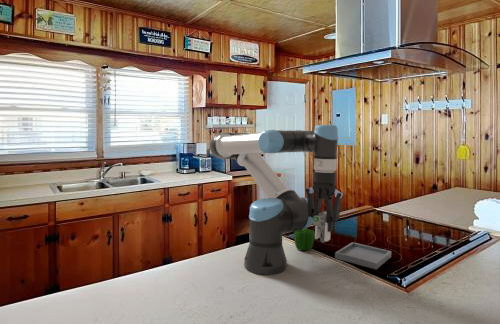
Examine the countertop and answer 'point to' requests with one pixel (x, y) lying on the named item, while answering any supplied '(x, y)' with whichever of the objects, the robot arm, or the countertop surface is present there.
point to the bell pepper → (304, 239)
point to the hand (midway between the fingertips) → (322, 239)
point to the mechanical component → (321, 224)
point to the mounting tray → (363, 255)
